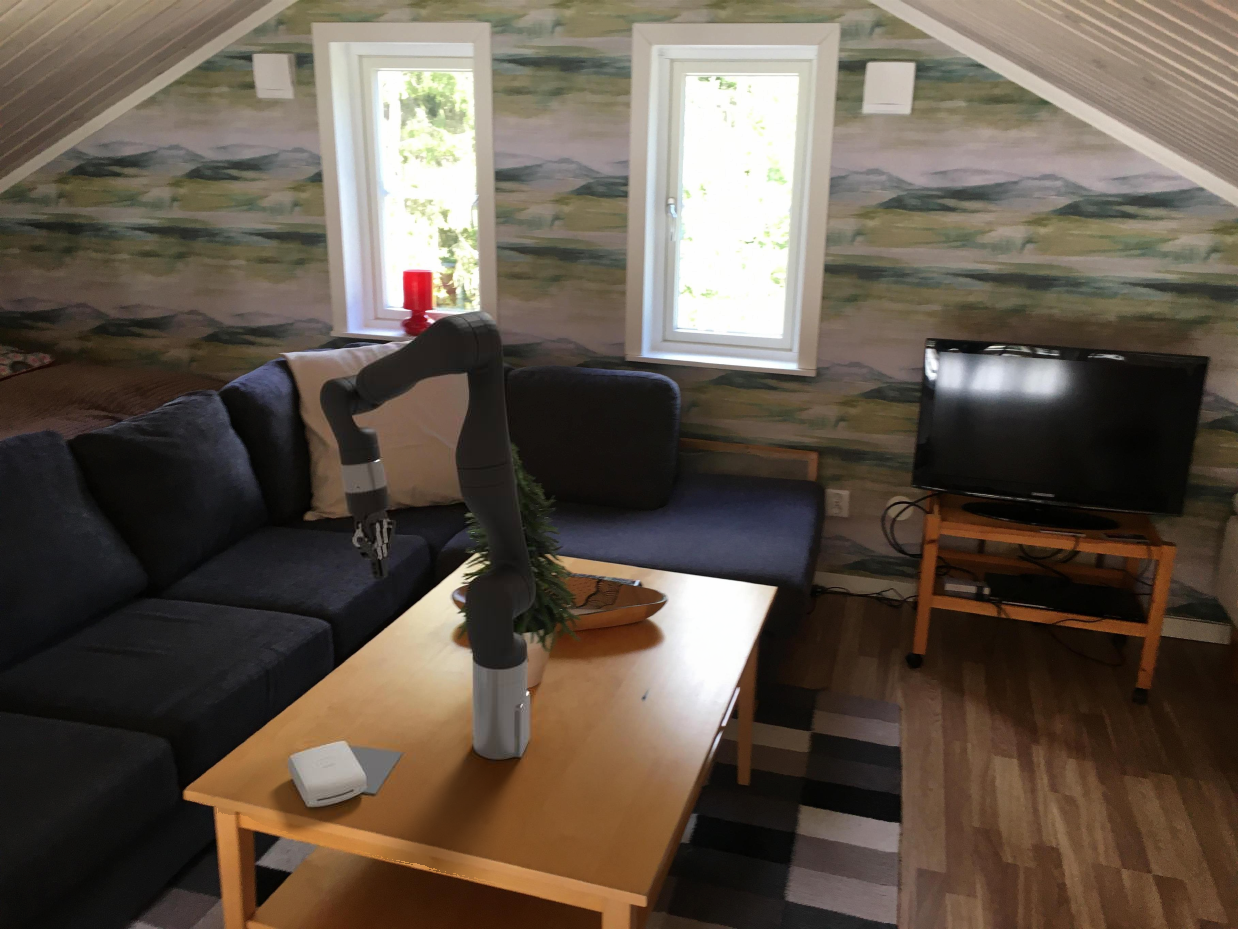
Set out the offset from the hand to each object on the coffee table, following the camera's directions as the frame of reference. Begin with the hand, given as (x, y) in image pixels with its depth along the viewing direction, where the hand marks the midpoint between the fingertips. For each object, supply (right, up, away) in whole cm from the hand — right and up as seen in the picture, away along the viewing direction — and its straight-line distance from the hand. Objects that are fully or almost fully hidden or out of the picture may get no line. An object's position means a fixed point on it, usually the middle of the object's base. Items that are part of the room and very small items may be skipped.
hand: (380, 577), depth 188 cm
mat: (0, -30, -17) cm, 35 cm away
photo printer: (-6, -28, -18) cm, 33 cm away
